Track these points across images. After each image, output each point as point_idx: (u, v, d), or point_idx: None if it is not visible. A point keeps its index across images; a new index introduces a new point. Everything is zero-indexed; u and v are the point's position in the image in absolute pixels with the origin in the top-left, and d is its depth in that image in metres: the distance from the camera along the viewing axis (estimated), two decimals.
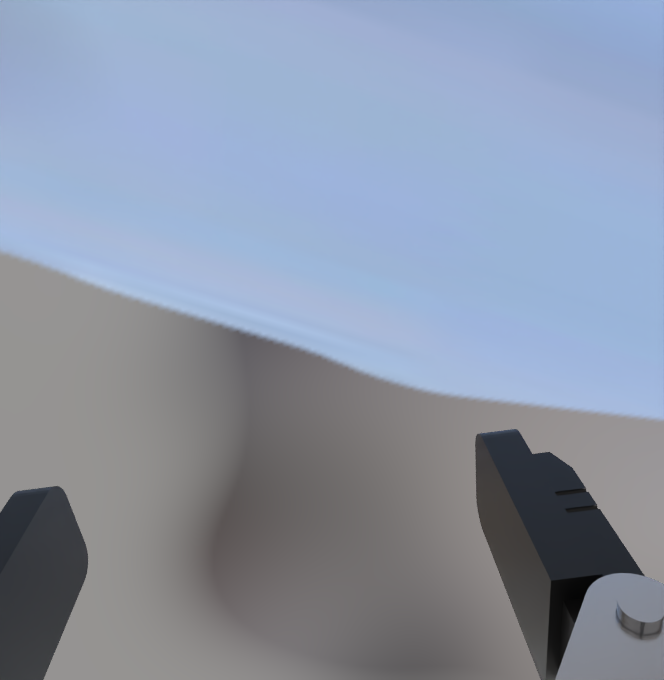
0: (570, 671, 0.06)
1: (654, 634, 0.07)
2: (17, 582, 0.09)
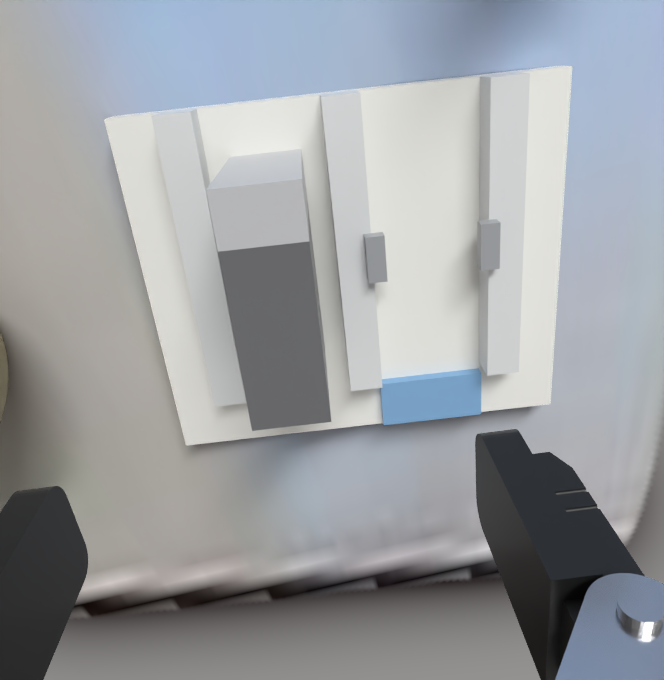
0: (570, 671, 0.06)
1: (654, 634, 0.07)
2: (17, 582, 0.09)
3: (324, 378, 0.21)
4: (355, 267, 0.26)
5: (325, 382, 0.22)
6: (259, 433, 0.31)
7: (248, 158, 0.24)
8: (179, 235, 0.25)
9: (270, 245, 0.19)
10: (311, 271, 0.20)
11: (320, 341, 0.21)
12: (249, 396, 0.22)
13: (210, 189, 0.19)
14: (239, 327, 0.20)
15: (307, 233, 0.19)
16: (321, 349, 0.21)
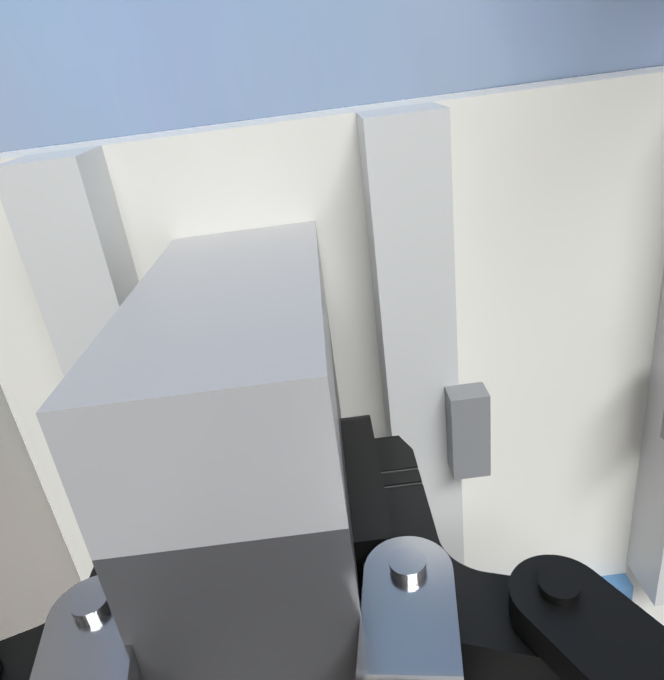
0: (367, 642, 0.07)
1: (412, 585, 0.08)
2: None
3: None
4: (425, 444, 0.13)
5: None
6: None
7: (206, 247, 0.11)
8: None
9: (239, 539, 0.07)
10: (353, 592, 0.07)
11: None
12: None
13: (50, 409, 0.06)
14: None
15: (343, 510, 0.07)
16: None
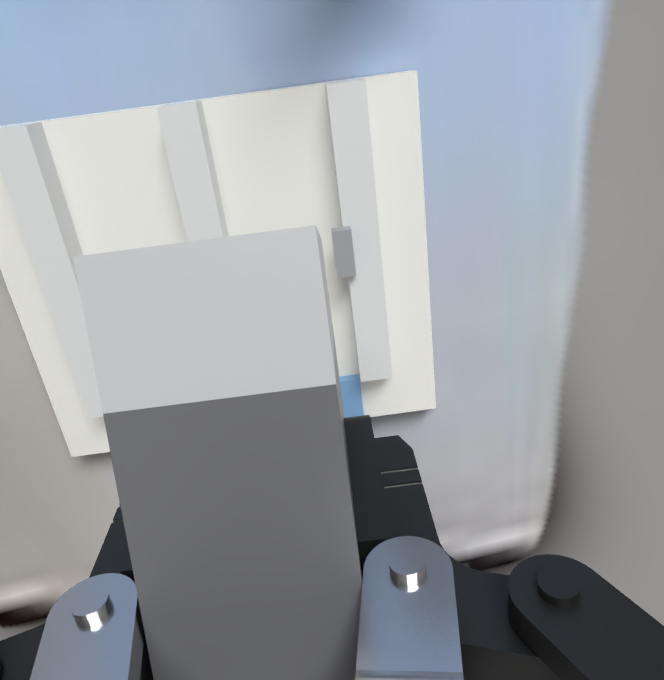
0: (367, 642, 0.07)
1: (412, 585, 0.08)
2: None
3: None
4: None
5: None
6: None
7: None
8: (30, 248, 0.25)
9: (236, 396, 0.08)
10: (342, 461, 0.08)
11: None
12: None
13: (85, 256, 0.07)
14: (160, 609, 0.08)
15: (331, 364, 0.08)
16: None
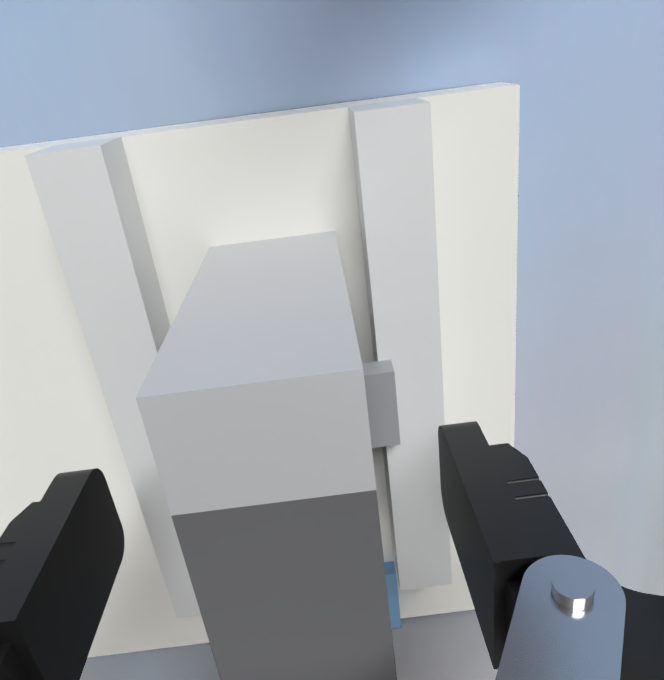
0: (513, 654, 0.07)
1: (583, 610, 0.07)
2: (66, 557, 0.10)
3: None
4: None
5: None
6: None
7: (241, 255, 0.13)
8: None
9: (288, 499, 0.09)
10: (378, 542, 0.09)
11: (391, 657, 0.10)
12: None
13: (146, 395, 0.08)
14: (225, 643, 0.10)
15: (372, 475, 0.09)
16: (393, 670, 0.10)
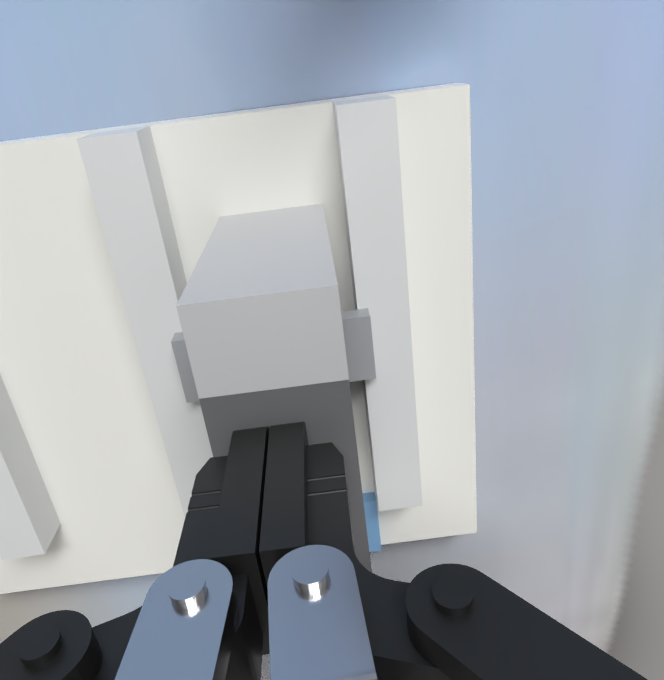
0: (279, 658, 0.07)
1: (312, 594, 0.08)
2: None
3: (368, 569, 0.14)
4: (170, 377, 0.18)
5: None
6: (85, 578, 0.23)
7: (246, 221, 0.16)
8: None
9: (284, 386, 0.12)
10: (351, 423, 0.12)
11: (363, 520, 0.13)
12: None
13: (183, 304, 0.11)
14: None
15: (346, 368, 0.12)
16: (365, 531, 0.13)
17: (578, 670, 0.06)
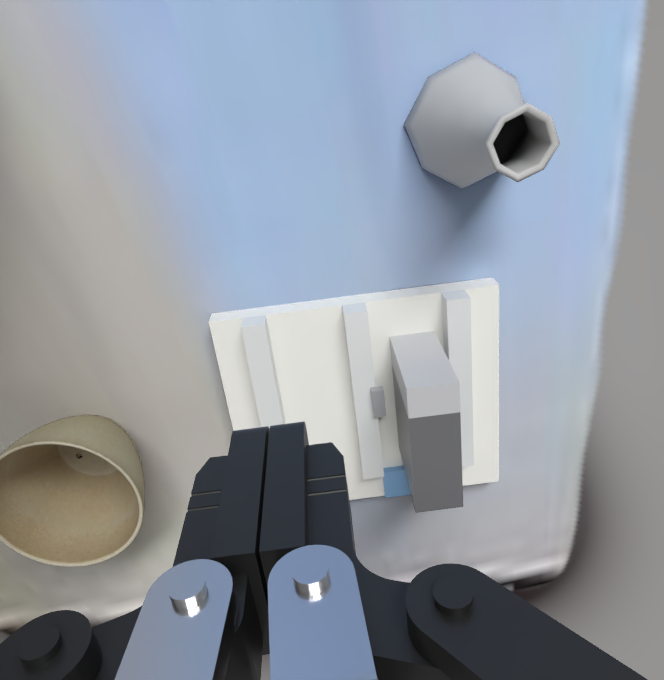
0: (279, 658, 0.07)
1: (312, 594, 0.08)
2: None
3: (461, 482, 0.36)
4: (365, 406, 0.40)
5: (461, 485, 0.36)
6: None
7: (405, 341, 0.39)
8: (255, 391, 0.39)
9: (438, 414, 0.34)
10: (459, 427, 0.35)
11: (461, 463, 0.36)
12: (416, 493, 0.37)
13: (408, 388, 0.33)
14: (415, 457, 0.35)
15: (459, 408, 0.34)
16: (461, 467, 0.36)
17: (578, 669, 0.06)
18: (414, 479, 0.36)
